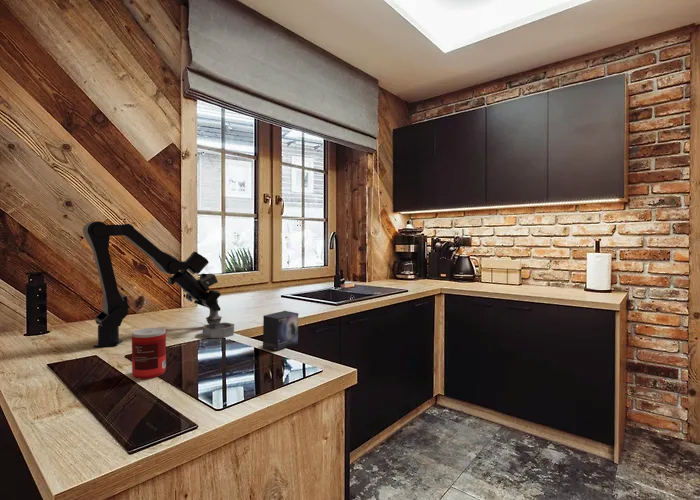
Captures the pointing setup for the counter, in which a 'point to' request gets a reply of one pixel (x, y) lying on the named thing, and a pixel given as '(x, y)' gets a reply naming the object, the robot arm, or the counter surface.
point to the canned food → (148, 352)
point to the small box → (280, 330)
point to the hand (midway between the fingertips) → (217, 309)
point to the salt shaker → (213, 316)
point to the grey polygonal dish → (218, 330)
